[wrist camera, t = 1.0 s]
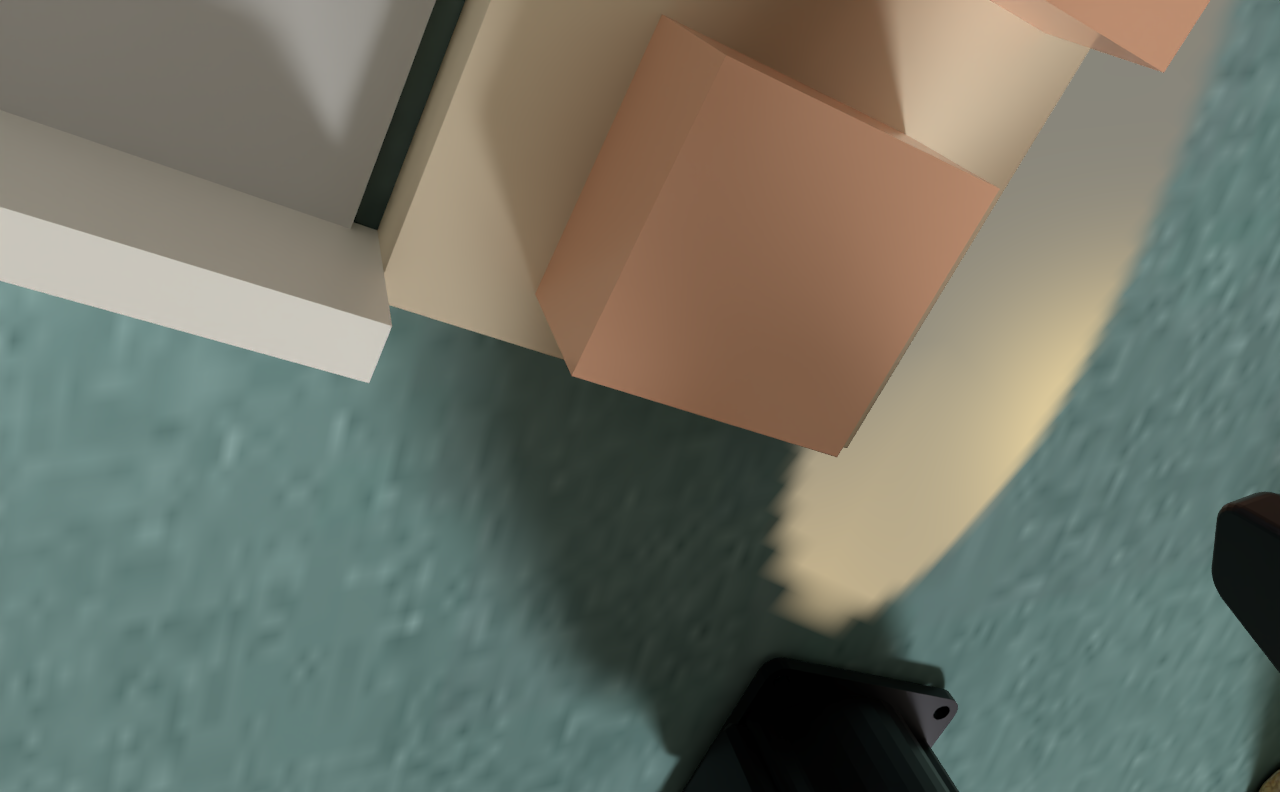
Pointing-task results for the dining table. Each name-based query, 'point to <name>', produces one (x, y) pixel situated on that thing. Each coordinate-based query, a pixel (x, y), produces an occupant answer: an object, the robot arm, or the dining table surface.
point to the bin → (205, 164)
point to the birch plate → (596, 85)
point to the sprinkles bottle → (1272, 783)
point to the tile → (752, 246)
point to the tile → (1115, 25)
